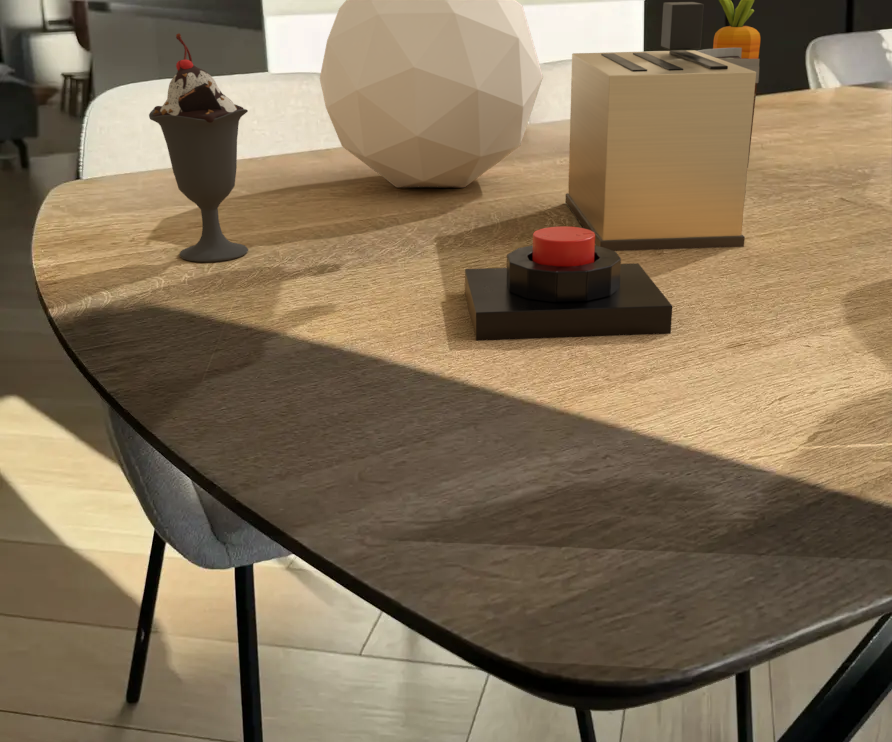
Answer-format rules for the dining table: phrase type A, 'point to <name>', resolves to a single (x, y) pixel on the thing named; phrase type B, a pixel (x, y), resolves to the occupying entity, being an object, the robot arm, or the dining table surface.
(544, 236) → the button
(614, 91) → the toaster
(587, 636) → the dining table surface
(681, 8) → the block
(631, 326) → the block
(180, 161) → the sundae
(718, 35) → the carrot
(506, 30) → the ball
